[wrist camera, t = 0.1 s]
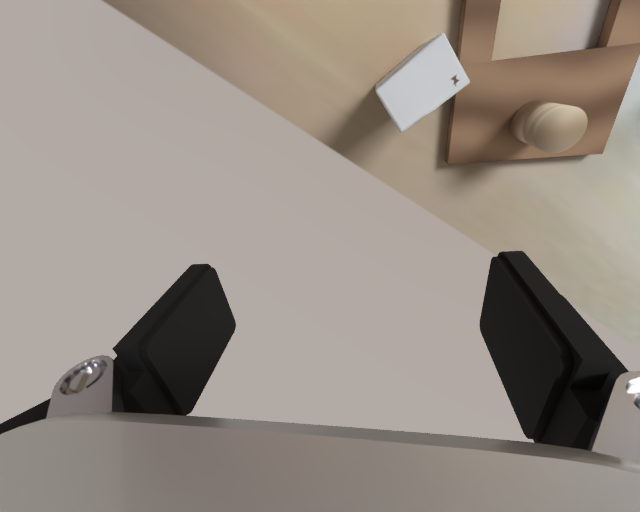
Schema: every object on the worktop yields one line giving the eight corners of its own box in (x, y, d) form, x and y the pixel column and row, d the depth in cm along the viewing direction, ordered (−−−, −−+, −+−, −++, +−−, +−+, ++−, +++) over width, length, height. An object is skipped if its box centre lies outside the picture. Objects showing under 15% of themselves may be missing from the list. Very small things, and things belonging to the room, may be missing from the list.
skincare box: (421, 42, 31) (446, 28, 21) (441, 79, 32) (473, 83, 22) (372, 84, 33) (373, 90, 23) (393, 117, 35) (402, 135, 25)
